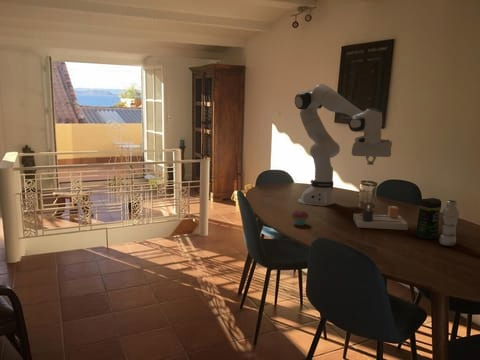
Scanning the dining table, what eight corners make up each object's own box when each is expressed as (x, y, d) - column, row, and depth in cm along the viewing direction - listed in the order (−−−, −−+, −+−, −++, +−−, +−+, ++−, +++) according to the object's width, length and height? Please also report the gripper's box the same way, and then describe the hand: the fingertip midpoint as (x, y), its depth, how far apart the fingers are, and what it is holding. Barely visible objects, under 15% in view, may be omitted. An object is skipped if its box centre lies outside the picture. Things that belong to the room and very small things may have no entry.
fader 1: (364, 220, 200) (364, 211, 199) (362, 218, 205) (363, 208, 204) (372, 221, 199) (373, 211, 198) (370, 218, 204) (371, 208, 203)
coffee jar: (427, 240, 180) (431, 201, 177) (412, 236, 187) (416, 197, 184) (441, 238, 185) (445, 199, 182) (426, 233, 192) (430, 195, 188)
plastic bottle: (435, 243, 178) (440, 199, 174) (449, 242, 178) (454, 199, 175) (443, 248, 171) (448, 202, 168) (458, 247, 172) (464, 202, 168)
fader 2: (389, 217, 207) (390, 208, 206) (387, 215, 212) (388, 205, 211) (397, 217, 206) (398, 208, 205) (395, 215, 211) (396, 206, 210)
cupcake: (309, 223, 206) (310, 200, 204) (306, 227, 198) (307, 204, 196) (292, 221, 209) (293, 199, 207) (289, 225, 201) (290, 202, 199)
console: (357, 227, 200) (358, 221, 199) (353, 218, 215) (353, 213, 215) (407, 229, 197) (408, 223, 196) (399, 221, 212) (399, 215, 212)
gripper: (390, 139, 214) (388, 164, 217) (352, 138, 217) (350, 163, 219) (393, 140, 208) (391, 166, 211) (353, 139, 211) (352, 164, 213)
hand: (370, 164), depth 215 cm, fingers closed
